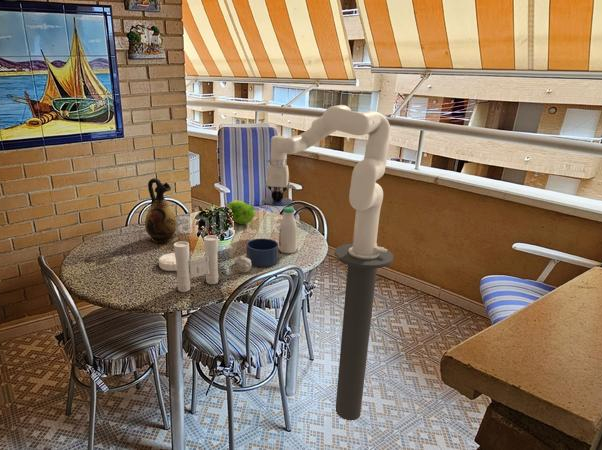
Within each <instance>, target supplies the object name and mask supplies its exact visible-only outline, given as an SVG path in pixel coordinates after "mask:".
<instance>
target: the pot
mask: <svg viewBox="0 0 602 450" xmlns="http://www.w3.org/2000/svg"><path fill="white" fill-rule="evenodd" d="M245 245H246V247H245V248H246V249H245V252H246V253H245V255H246V256H245V257H246V258H248V259H250V260H251V263H252V265H251V267H252V266H253V267H257V268H269V267H273V266H275V265H277V264H278V261H279V242H278V241H275V240H273V239H270V238H254V239H250V240H248V241H247V242H246V244H245Z"/></svg>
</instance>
